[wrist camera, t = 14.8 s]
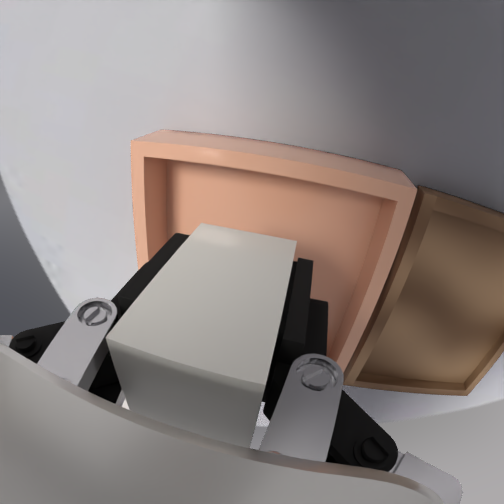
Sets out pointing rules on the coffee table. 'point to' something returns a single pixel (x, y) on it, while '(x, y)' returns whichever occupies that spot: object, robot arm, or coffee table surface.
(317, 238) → the dish
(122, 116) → the coffee table surface
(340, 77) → the coffee table surface
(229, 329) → the light grey rectangular box
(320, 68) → the coffee table surface
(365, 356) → the tray
